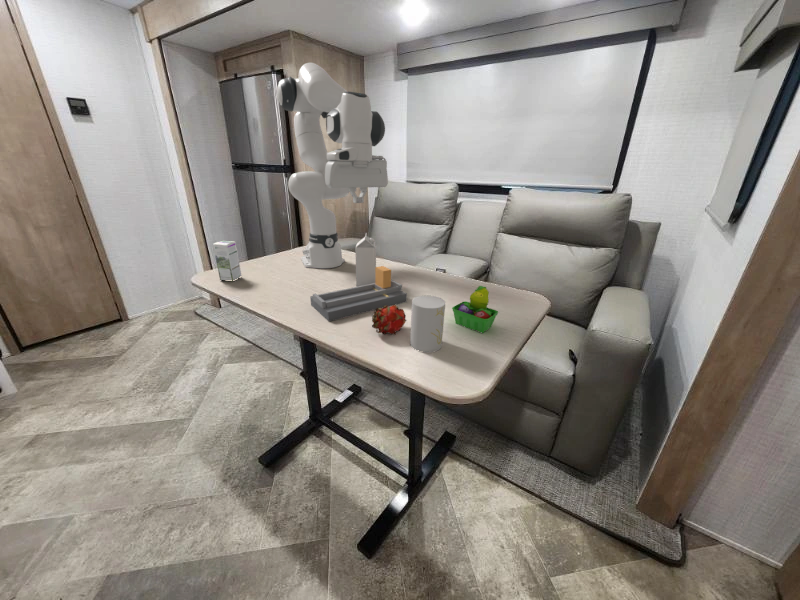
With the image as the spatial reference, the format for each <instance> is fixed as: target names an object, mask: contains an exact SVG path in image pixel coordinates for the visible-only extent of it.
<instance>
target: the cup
mask: <svg viewBox="0 0 800 600" xmlns="http://www.w3.org/2000/svg"><path fill="white" fill-rule="evenodd" d="M445 309H446V301H445V299H443V298H442V297H439V296H436V295H431V294H430V295H429V294H428V295H427V294H425V295H424V294H422V295H417V296H415V297H413V298H412V300H411V316H410V317H411V321H410V337H409V338H410V341H409V344H411V345H410V347H411V346H412V347H413V348H414V350H415V349H416V350H415V351H417V350H419V351H418V352H420V351H423V352H422V353H434V351H435V352H437V351H439V350H441V348H442V345H443V332H444V325H445V324H444V322H445V312H446V311H445ZM412 347H411V348H412ZM413 348H412V349H413Z"/></svg>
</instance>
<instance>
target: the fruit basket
mask: <svg viewBox="0 0 800 600" xmlns="http://www.w3.org/2000/svg"><path fill="white" fill-rule="evenodd" d="M489 292H490V291H489V290H488V289H487V286H484V285H479V286H478V287H476V289H475V290H474V292H472V293H471V294H470V295H469V301H466V300H465V301H462V302H460V303H458V304H456V305H454V306H452V308H451V309H452V312H453V316H454V321H455V324H456V325H458V324H459V325H458V326H461V327H464V326H465V327H464V328H468V329H470V330H472V329H473V331H475V330H477V332H478V331H479V332H478V333H481V332H482V333H481V334H484V333H485V332H487V331H488V330H489V329H490V327H492V326H493V323H494V322H495V320H496V317H497V316H498V314H499V311H498V310H496V309H493V308H490V307H488V305H489ZM486 330H487V331H486ZM484 331H485V332H484Z"/></svg>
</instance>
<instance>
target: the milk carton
mask: <svg viewBox="0 0 800 600" xmlns="http://www.w3.org/2000/svg"><path fill="white" fill-rule="evenodd" d="M376 243H377V242H376V240H375V239H374V238H373V237H369V236H368V234H367V232H365V236H364V237H362V238H361V240H359V241H358V242H357V243H356V245H355V251H354V253H355V281H356V282H355V285H356V286H355V287H358V286H363V285H368V284H373V283H375V267H377V244H376Z"/></svg>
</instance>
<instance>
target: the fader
mask: <svg viewBox="0 0 800 600" xmlns="http://www.w3.org/2000/svg"><path fill="white" fill-rule="evenodd" d="M391 279H392V269H390V268H388V267H386V266H384V265H381V266H376V267H375V284H374V288H375V289H377V290H382V289H387V288H392V286H391Z"/></svg>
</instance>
